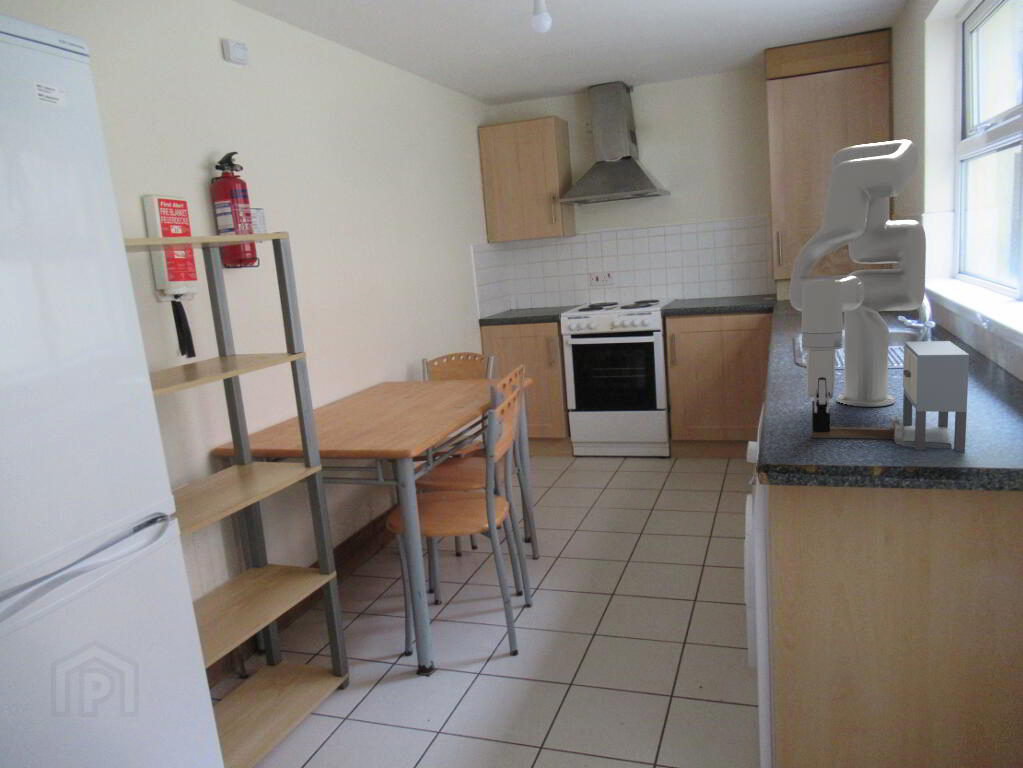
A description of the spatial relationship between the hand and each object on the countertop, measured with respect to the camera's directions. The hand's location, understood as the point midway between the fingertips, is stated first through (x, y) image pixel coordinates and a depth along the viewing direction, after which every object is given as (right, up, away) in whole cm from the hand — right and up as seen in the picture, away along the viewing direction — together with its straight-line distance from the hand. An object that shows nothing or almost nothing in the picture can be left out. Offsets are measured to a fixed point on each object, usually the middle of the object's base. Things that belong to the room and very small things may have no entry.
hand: (821, 428), depth 153 cm
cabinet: (+19, -2, -7) cm, 20 cm away
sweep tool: (+6, -2, -2) cm, 6 cm away
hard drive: (+18, -2, -6) cm, 19 cm away
